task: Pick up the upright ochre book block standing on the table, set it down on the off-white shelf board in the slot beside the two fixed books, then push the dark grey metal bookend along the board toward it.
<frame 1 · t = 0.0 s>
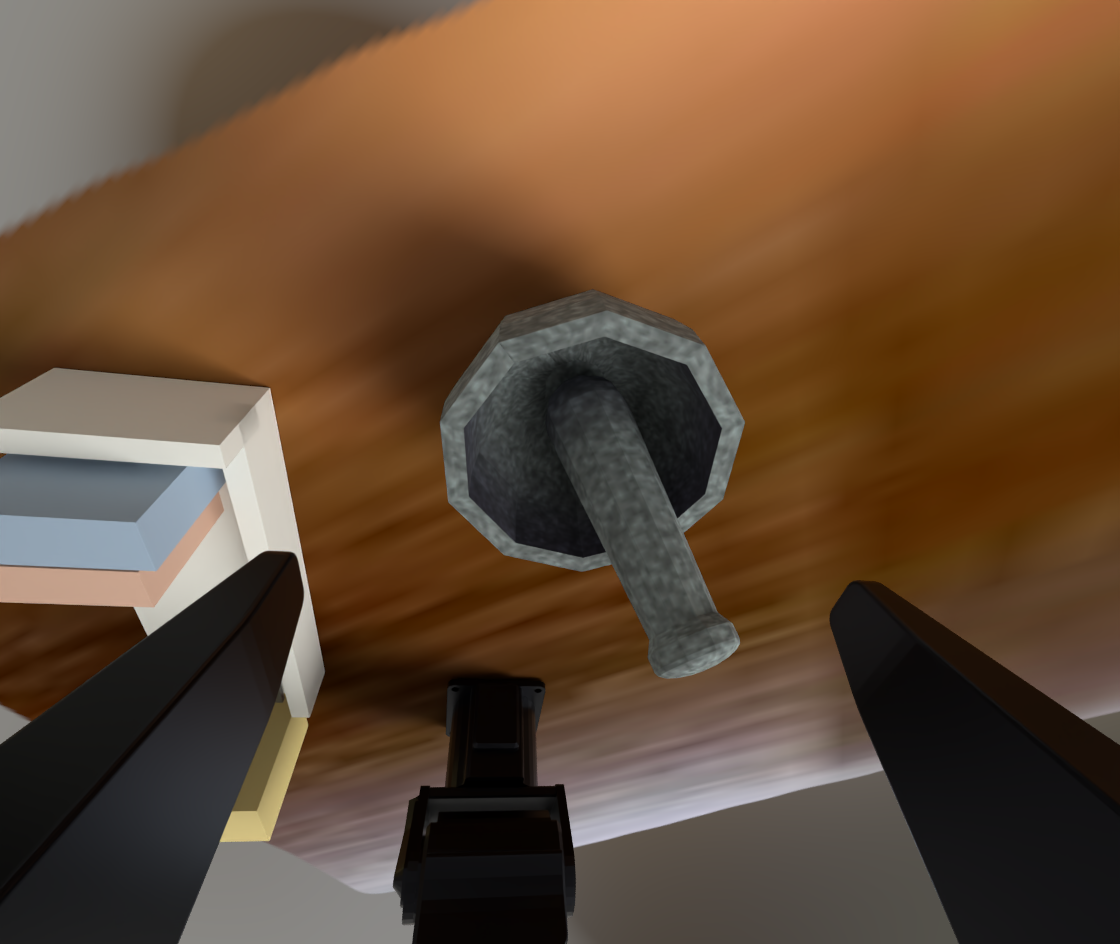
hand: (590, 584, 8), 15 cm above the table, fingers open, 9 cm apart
mortar and pestle: (580, 383, 23), on the table
ochre book: (261, 709, 35), on the table
bookend: (200, 736, 27), point 5 cm above the table, slide at 0.0 cm
shelf: (221, 555, 26), on the table
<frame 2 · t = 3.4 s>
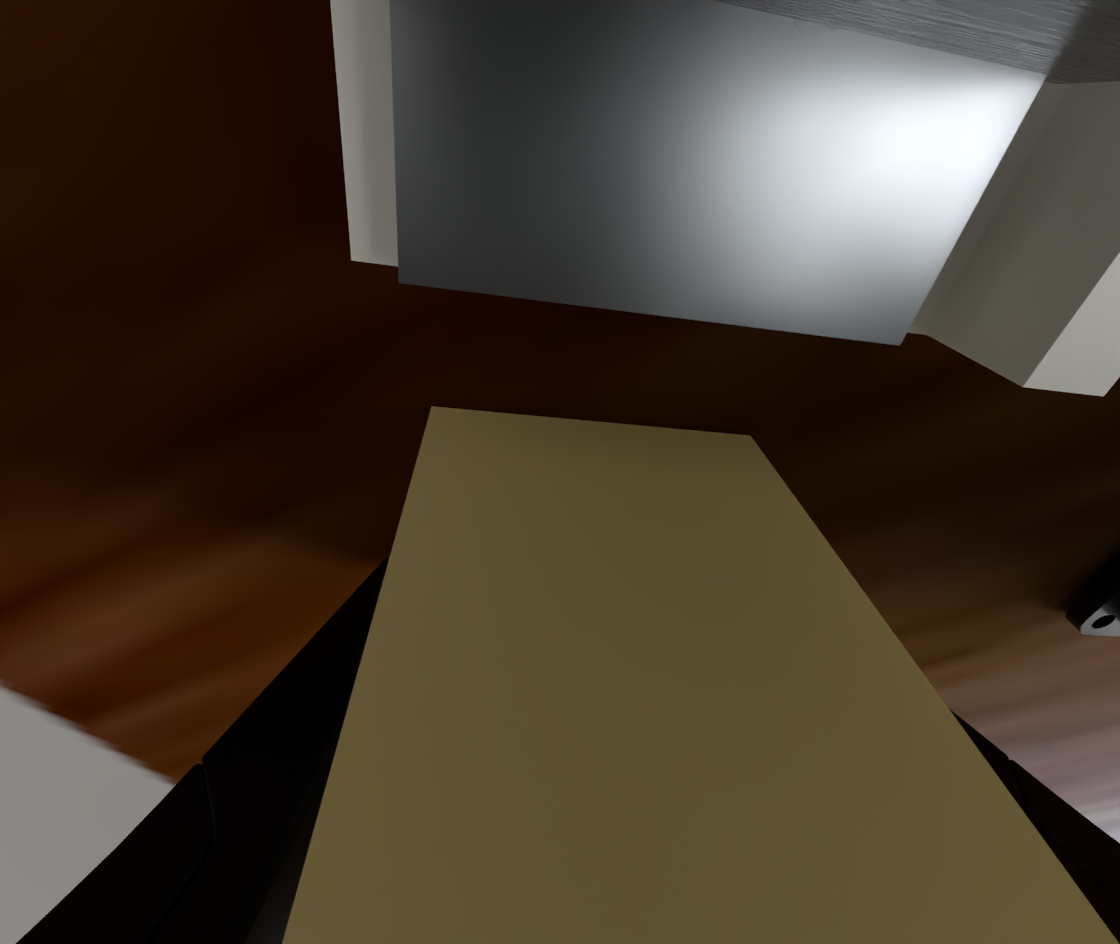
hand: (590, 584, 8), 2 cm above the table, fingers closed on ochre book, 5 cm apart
ochre book: (578, 512, 10), on the table, touching gripper
bookend: (953, 134, 2), point 5 cm above the table, slide at 0.0 cm
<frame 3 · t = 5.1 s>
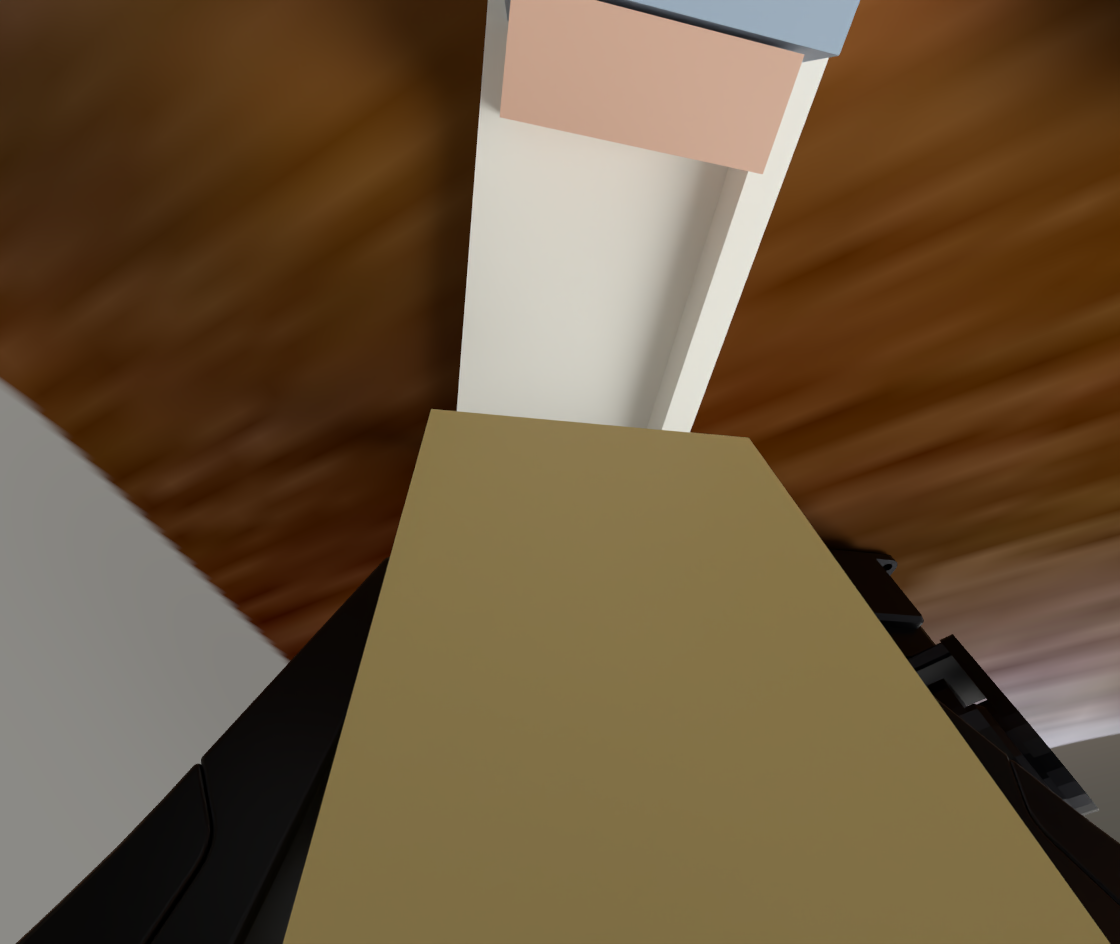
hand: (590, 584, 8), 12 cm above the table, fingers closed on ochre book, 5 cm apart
ochre book: (577, 514, 10), point 10 cm above the table, touching gripper
shelf: (587, 290, 18), on the table
when the fingers open (4 cm above the table, at t = 6.9 s): ochre book drops 1 cm, resting on shelf.
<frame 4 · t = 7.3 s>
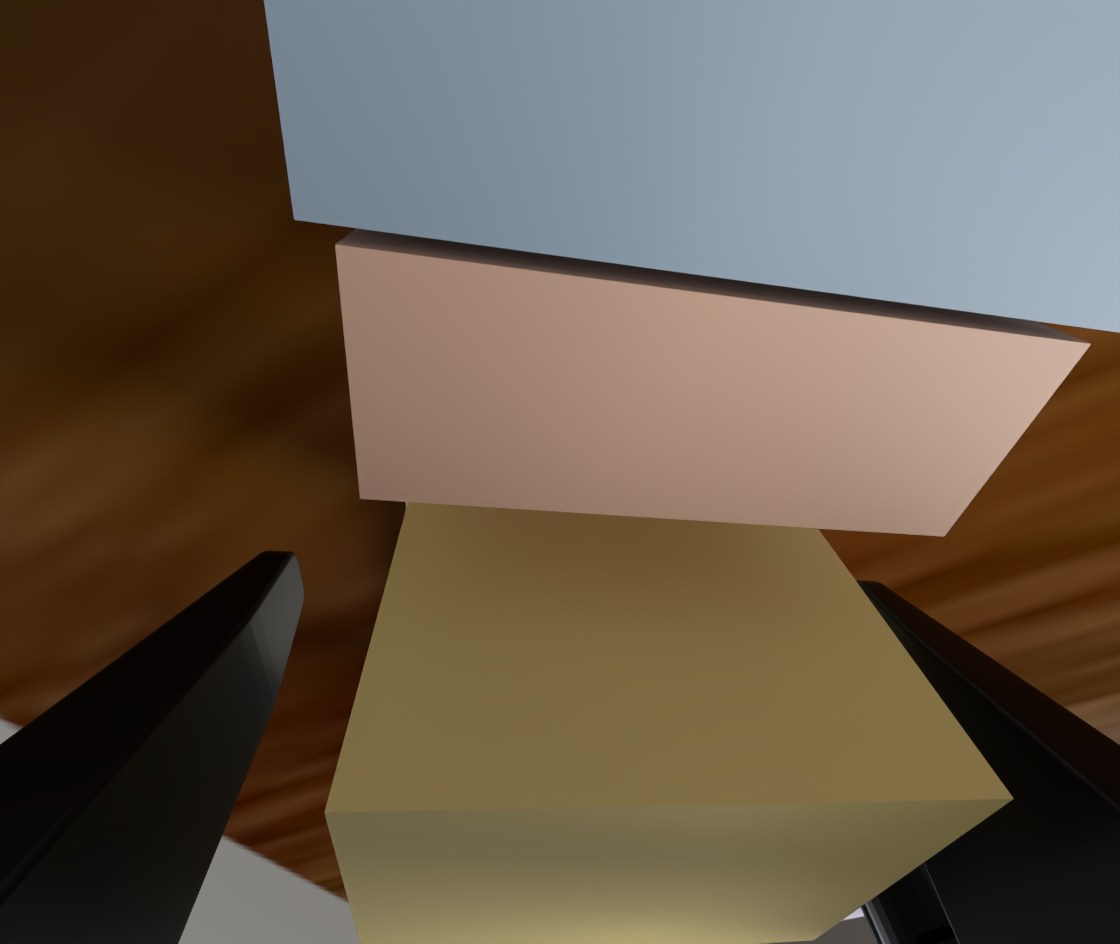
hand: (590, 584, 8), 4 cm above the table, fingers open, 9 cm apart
ochre book: (574, 478, 11), point 1 cm above the table, touching shelf
shelf: (584, 471, 12), on the table
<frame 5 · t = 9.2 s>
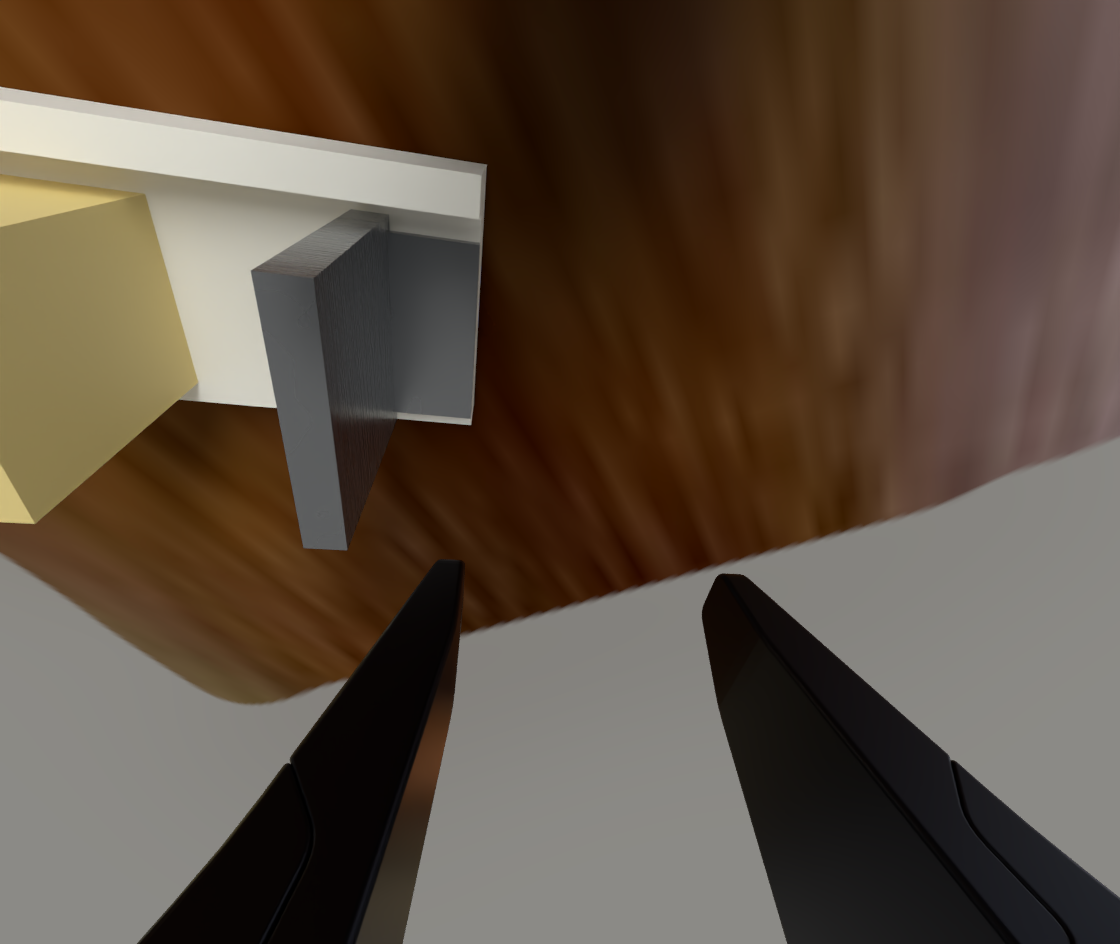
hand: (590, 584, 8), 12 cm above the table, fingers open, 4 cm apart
ochre book: (99, 289, 15), point 1 cm above the table, touching shelf
bookend: (399, 374, 13), point 5 cm above the table, slide at 0.0 cm
shelf: (154, 261, 16), on the table
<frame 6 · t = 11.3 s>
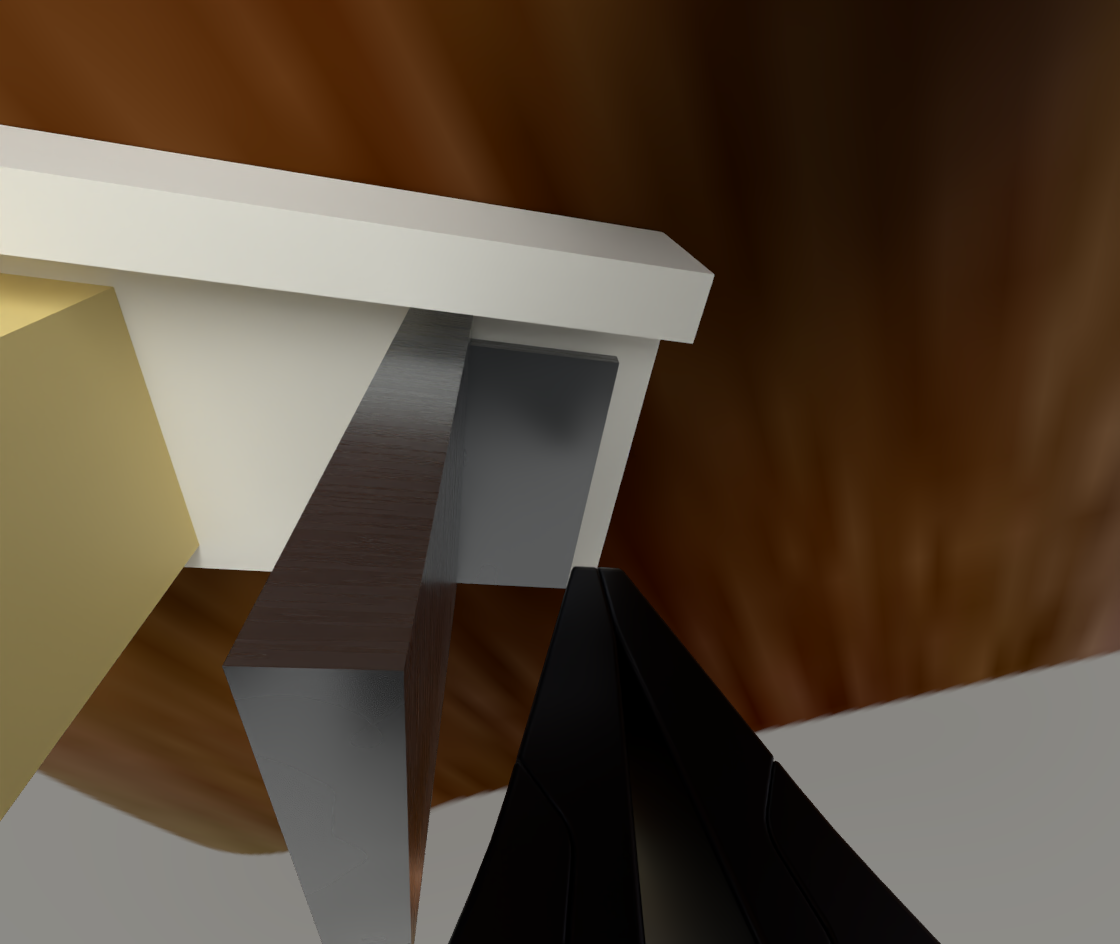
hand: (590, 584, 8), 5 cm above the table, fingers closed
ochre book: (41, 426, 9), point 1 cm above the table, touching shelf
bookend: (497, 604, 8), point 5 cm above the table, slide at 0.8 cm, touching gripper
shelf: (133, 369, 10), on the table
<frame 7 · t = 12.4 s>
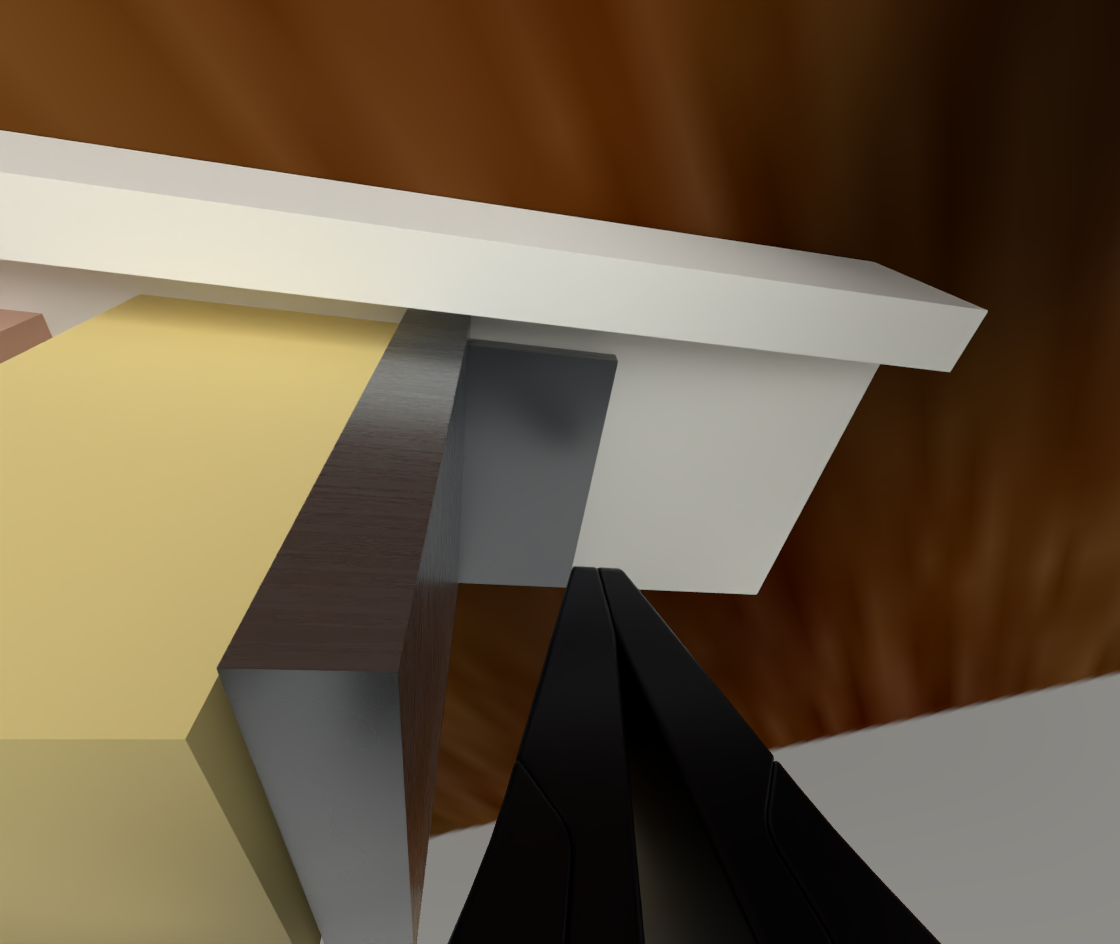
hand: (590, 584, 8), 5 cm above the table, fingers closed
ochre book: (299, 450, 10), point 1 cm above the table, touching shelf
bookend: (497, 604, 8), point 5 cm above the table, slide at 5.2 cm, touching gripper
shelf: (361, 393, 11), on the table
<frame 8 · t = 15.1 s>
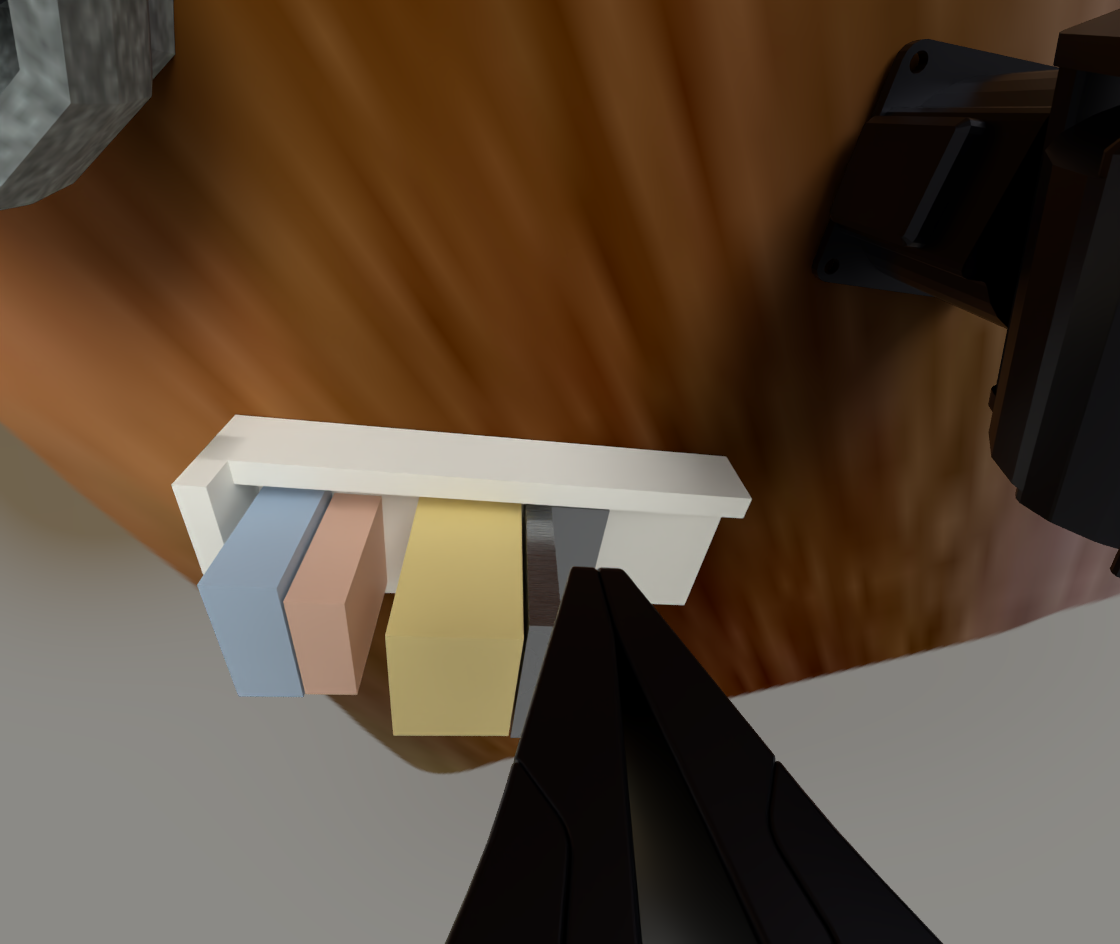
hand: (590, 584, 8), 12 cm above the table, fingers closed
ochre book: (469, 542, 22), point 1 cm above the table, touching shelf
bookend: (563, 611, 20), point 5 cm above the table, slide at 5.2 cm
shelf: (490, 511, 23), on the table
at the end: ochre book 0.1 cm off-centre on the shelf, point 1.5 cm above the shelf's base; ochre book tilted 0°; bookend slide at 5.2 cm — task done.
